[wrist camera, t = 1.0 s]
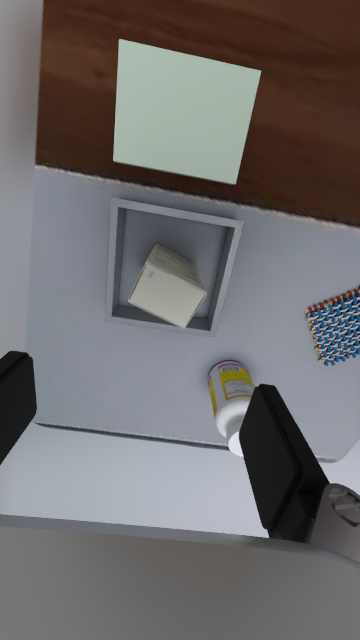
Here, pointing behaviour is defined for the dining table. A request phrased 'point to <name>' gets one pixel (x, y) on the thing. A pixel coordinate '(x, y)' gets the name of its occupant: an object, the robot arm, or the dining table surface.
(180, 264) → the skincare box
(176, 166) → the pad
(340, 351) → the woven mat
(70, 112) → the dining table surface
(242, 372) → the supplement bottle
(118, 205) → the bin
